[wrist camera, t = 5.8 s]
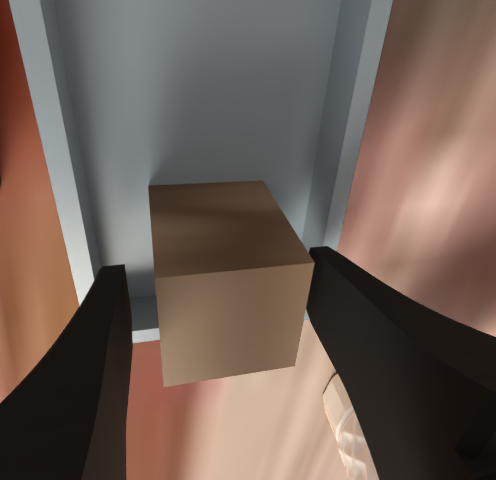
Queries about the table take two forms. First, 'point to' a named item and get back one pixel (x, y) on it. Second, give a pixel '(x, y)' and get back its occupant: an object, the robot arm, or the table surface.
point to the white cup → (348, 432)
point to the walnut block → (226, 280)
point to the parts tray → (195, 114)
